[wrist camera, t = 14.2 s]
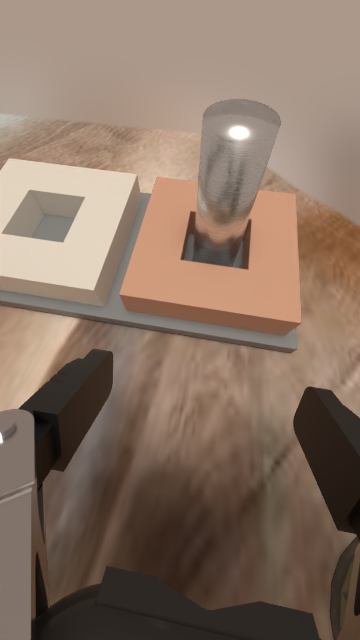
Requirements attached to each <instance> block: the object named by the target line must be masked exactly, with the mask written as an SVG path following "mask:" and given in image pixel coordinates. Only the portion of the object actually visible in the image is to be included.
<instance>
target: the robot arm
mask: <svg viewBox="0 0 360 640" xmlns="http://www.w3.org/2000/svg"><path fill="white" fill-rule="evenodd" d="M112 384H113V353H112V352H111V351H105V350H99V349H92V350H91V351H90V352H89V353H88V354H87V355H86V356H85V357H84V358H83V359H80V358H78V359H76V360H74V361H72V362H70V363H68V364H66V365H65V366H64V367H63V368H62V369H60V370H59V371H58V372H57V374H55V375H54V376H53V377H52V378H51V379H50V381H48V382H47V383H45V384H44V385H43V386H42V387H41V388H40V389H39V390H38V391H37V392H36V393H35V394H34V395H33V396H31V397H30V398H29V399H28V400H27V401H26V402H25V403H24V404H23V405H22V406H21V407H20V408H19V409H12V410H6V411H2V412H0V640H321V639H320V638H319V635H318V632H317V628H316V625H315V621H314V617H313V614H312V613H308V612H303V611H299V610H295V609H290V608H286V607H282V606H277V605H273V604H269V603H264V602H254V603H249V604H243V605H238V606H232V607H227V608H222V609H216V610H205V609H203V608H201V607H200V606H198V605H197V604H195V603H194V602H192V601H191V600H189V599H188V598H186V597H184V596H183V595H181V594H180V593H178V592H177V591H175V590H174V589H172V588H171V587H169V586H168V585H166V584H165V583H163V582H162V581H160V580H159V579H157V578H156V577H152V576H147V575H143V574H139V573H134V572H130V571H126V570H121V569H117V568H113V567H108V566H107V567H106V570H105V574H104V577H103V580H102V584H96V585H92V586H89V587H86V588H83V589H80V590H78V591H76V592H74V593H72V594H70V595H68V596H66V597H64V598H63V599H61V600H60V601H58V602H57V603H55V604H54V605H52V606H51V602H50V584H49V571H48V561H47V546H46V523H45V498H44V482H43V481H44V479H45V478H46V476H47V475H48V473H49V472H50V470H51V469H53V470H57V471H62V472H64V470H65V468H66V467H67V465H68V463H69V462H70V460H71V458H72V457H73V455H74V453H75V452H76V450H77V448H78V447H79V445H80V443H81V442H82V440H83V438H84V437H85V435H86V433H87V432H88V430H89V428H90V427H91V425H92V423H93V422H94V420H95V418H96V417H97V415H98V414H99V412H100V410H101V409H102V407H103V405H104V404H105V402H106V400H107V399H108V397H109V395H110V392H111V389H112ZM293 426H294V431H295V434H296V436H297V438H298V441H299V443H300V445H301V447H302V450H303V452H304V454H305V457H306V459H307V461H308V463H309V466H310V468H311V470H312V473H313V475H314V477H315V479H316V482H317V484H318V486H319V489H320V491H321V493H322V495H323V498H324V500H325V502H326V505H327V507H328V509H329V511H330V514H331V516H332V518H333V521H334V523H335V525H336V527H337V530H339V531H344V532H349V533H353V534H356V535H357V537H358V539H359V541H360V418H359V417H358V416H357V415H355V414H354V413H353V412H352V411H350V410H349V409H348V408H347V407H345V406H343V405H342V403H341V402H340V401H339V399H338V398H337V397H336V396H335V394H334V393H333V392H332V391H331V390H327V389H321V388H316V387H307V388H306V389H305V391H304V394H303V396H302V398H301V401H300V403H299V406H298V408H297V410H296V413H295V415H294V420H293ZM337 640H360V543H359V544H358V546H357V547H356V550H355V555H354V562H353V568H352V575H351V581H350V588H349V594H348V600H347V607H346V613H345V619H344V623H343V626H342V629H341V631H340V633H339V635H338V637H337Z"/></svg>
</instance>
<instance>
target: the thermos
mask: <svg viewBox="0 0 360 640" xmlns="http://www.w3.org/2000/svg"><path fill="white" fill-rule="evenodd" d="M359 543H360V541H359V539H358V537H356V538H355V540H354V541H353V542H352V543H351V544H350V546H349V547H348V548H347V549H346V550H345V551H344V553H343V554H342V555H341V557H340V560H339V563H338V566H337V569H336V571H335V574H334V577H333V580H332V589H331V607H330V618H331V624H332V630H333V636H334V640H337V637H338V635H339V633H340V631H341V629H342V626H343V623H344V619H345V613H346V607H347V600H348V594H349V588H350V581H351V575H352V568H353V562H354V555H355V550H356V547H357V546H358V544H359Z"/></svg>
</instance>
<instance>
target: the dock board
mask: <svg viewBox="0 0 360 640" xmlns="http://www.w3.org/2000/svg"><path fill="white" fill-rule="evenodd" d="M197 191H198V182H193V181H185V180H177V179H169V178H161V177H157V178H156V181H155V184H154V187H153V190H152V194H147V193H140V188H139V182H138V176H137V174H129V173H121V172H113V171H105V170H97V169H89V168H81V167H73V166H65V165H57V164H49V163H41V162H33V161H26V160H18V159H10V158H9V160H8V161H7V162H6V164H5V165H4V166H3V168H2V169H1V170H0V305H5V306H11V307H17V308H23V309H29V310H35V311H41V312H47V313H53V314H59V315H65V316H71V317H77V318H83V319H89V320H95V321H101V322H107V323H114V324H120V325H126V326H132V327H138V328H144V329H150V330H156V331H162V332H168V333H174V334H180V335H186V336H192V337H198V338H204V339H210V340H216V341H222V342H228V343H234V344H240V345H246V346H252V347H258V348H264V349H270V350H276V351H282V352H288V353H292V352H293V351H295V350H297V333H296V327H297V326H298V325H300V324H301V306H300V283H299V261H298V238H297V216H296V194H289V193H281V192H273V191H265V190H258V193H257V196H256V199H255V202H254V205H253V208H252V211H251V214H250V217H249V220H248V223H247V226H246V229H245V232H244V235H243V238H242V241H241V244H240V247H239V250H238V253H237V256H236V259H235V262H234V265H233V267H226V266H219V265H212V264H206V263H199V262H193V261H192V259H193V245H194V231H195V218H196V204H197Z"/></svg>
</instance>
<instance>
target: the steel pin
mask: <svg viewBox="0 0 360 640" xmlns="http://www.w3.org/2000/svg"><path fill="white" fill-rule="evenodd" d="M280 125H281V120H280V117H279V115H278V114H277V112H276V111H275V110H273V109H272V108H270V107H269V106H267V105H265V104H262V103H260V102H256V101H252V100H245V99H230V100H224V101H220V102H217V103H215V104H213V105H211V106H210V107H208V108H207V109H206V110H205V112H204V114H203V124H202V137H201V150H200V164H199V177H198V191H197V204H196V218H195V231H194V245H193V259H192V261H193V262H199V263H206V264H212V265H219V266H226V267H233V265H234V262H235V259H236V256H237V253H238V250H239V247H240V244H241V241H242V238H243V235H244V232H245V229H246V226H247V223H248V220H249V217H250V214H251V211H252V208H253V205H254V202H255V199H256V196H257V193H258V190H259V187H260V184H261V181H262V178H263V175H264V172H265V169H266V166H267V163H268V160H269V158H270V155H271V151H272V148H273V146H274V143H275V139H276V136H277V134H278V131H279V128H280Z"/></svg>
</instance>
